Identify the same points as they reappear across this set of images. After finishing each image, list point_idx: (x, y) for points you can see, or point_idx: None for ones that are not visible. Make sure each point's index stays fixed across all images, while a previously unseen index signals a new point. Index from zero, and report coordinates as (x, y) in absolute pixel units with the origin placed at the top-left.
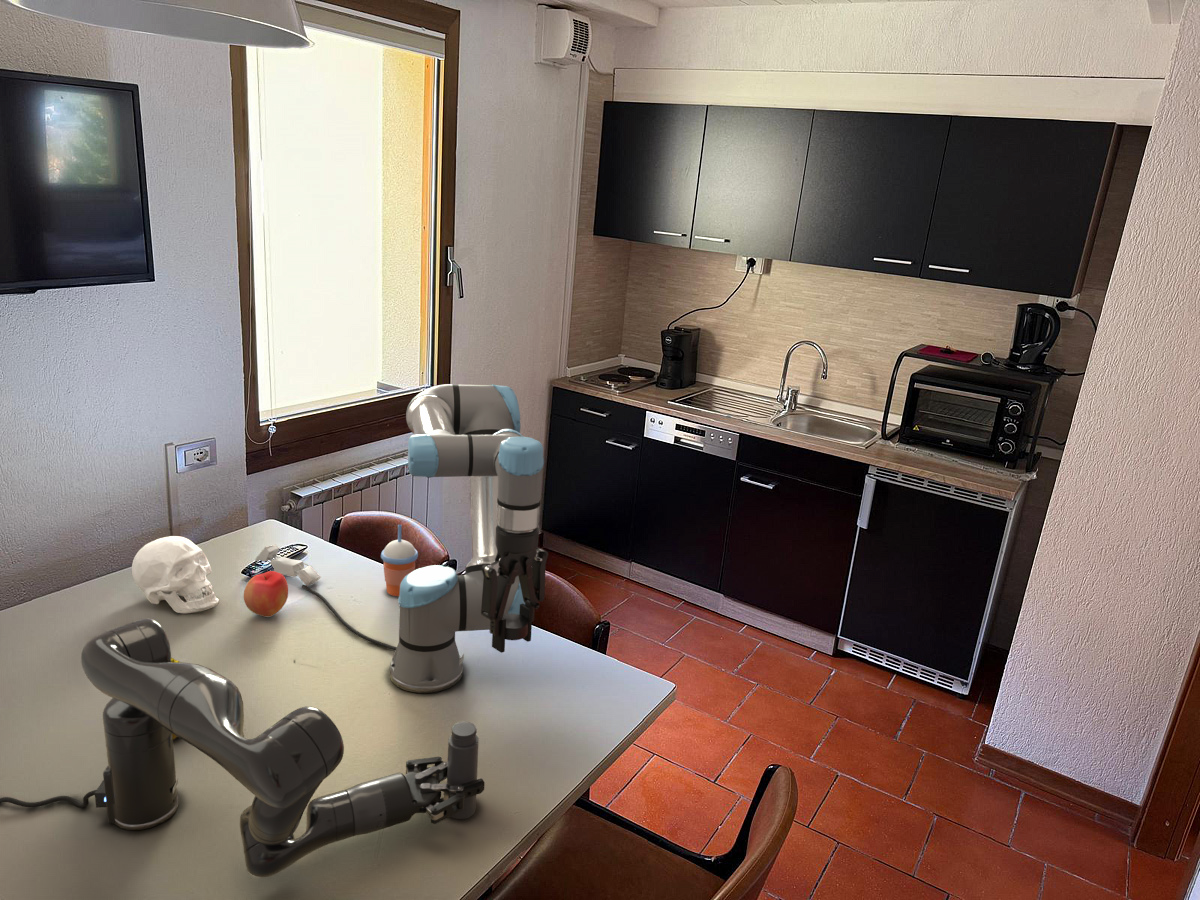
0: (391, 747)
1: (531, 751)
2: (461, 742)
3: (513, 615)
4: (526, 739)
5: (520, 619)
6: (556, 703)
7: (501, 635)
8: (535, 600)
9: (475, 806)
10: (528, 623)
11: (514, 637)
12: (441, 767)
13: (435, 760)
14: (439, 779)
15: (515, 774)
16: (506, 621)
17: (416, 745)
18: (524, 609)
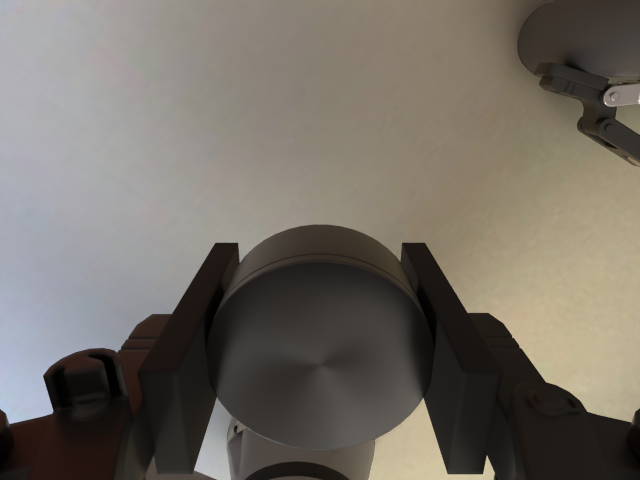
0: (504, 294)
1: (291, 97)
2: None
3: (265, 413)
4: (272, 141)
5: (258, 351)
6: (127, 202)
7: (454, 298)
8: (58, 438)
9: (541, 9)
10: (211, 302)
11: (376, 247)
12: (632, 90)
13: (618, 126)
14: (625, 82)
15: (377, 54)
16: (361, 383)
17: (466, 271)
18: (190, 410)
